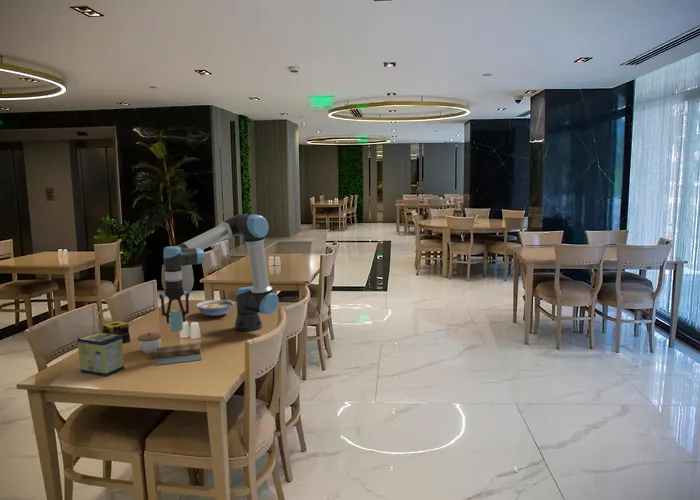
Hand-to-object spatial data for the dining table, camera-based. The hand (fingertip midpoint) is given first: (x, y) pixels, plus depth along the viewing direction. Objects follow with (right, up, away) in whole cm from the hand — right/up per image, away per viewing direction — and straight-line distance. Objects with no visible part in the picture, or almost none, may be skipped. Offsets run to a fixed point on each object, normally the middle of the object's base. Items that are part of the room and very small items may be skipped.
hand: (176, 329), depth 246 cm
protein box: (-28, -17, -14) cm, 35 cm away
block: (0, 0, 0) cm, 0 cm away
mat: (+2, -14, -2) cm, 14 cm away
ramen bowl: (-2, -4, +80) cm, 80 cm away
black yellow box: (-40, -11, +27) cm, 50 cm away
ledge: (-1, -13, +7) cm, 15 cm away
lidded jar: (-17, -13, +12) cm, 24 cm away
